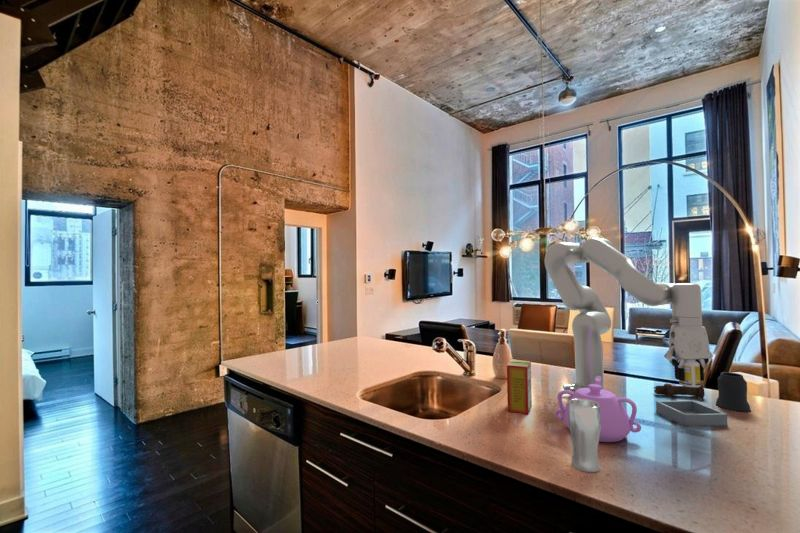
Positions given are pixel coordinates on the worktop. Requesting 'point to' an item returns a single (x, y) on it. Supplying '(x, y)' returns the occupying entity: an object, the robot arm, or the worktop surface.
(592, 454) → the beer glass
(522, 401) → the baking soda box
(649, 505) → the worktop surface
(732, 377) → the mug
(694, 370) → the supplement bottle
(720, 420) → the tray
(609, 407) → the purple lidded sugar bowl
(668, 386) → the bolt
